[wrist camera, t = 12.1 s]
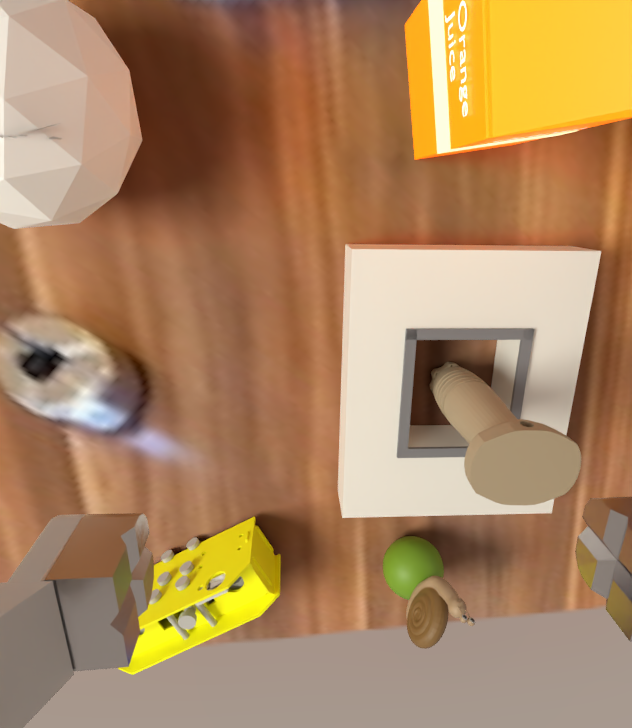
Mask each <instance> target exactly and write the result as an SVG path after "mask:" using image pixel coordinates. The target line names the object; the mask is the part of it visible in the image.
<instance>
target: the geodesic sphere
mask: <svg viewBox="0 0 632 728" xmlns="http://www.w3.org/2000/svg"><path fill="white" fill-rule="evenodd" d="M141 142H142V135H141V130H140V125H139V119H138V114H137V109H136V103H135V98H134V93H133V87H132V82H131V77H130V71H129V69H128V68H127V66H126V64H125V63H124V61H123V60H122V58H121V57H120V55H119V54H118V52H117V51H116V49H115V48H114V46H113V45H112V43H111V42H110V40H109V39H108V37H107V36H106V34H105V33H104V31H103V30H102V28H101V27H100V25H99V24H98V22H97V21H96V19H95V18H94V17H93V16H91V15H90V14H88V13H86V12H85V11H83V10H82V9H80V8H79V7H77V6H76V5H74V4H73V3H71V2H70V1H68V0H0V223H1V224H4V225H6V226H8V227H11V228H13V229H18V228H30V227H41V226H52V225H64V224H75V223H80V222H82V221H83V220H84V219H86V218H87V217H88V216H89V215H91V214H92V213H93V212H95V211H96V210H97V209H98V208H100V207H101V206H102V205H104V204H105V203H106V202H107V201H109V200H110V199H111V198H113V197H114V196H115V195H117V194H118V192H119V190H120V187H121V185H122V183H123V181H124V179H125V177H126V175H127V172H128V170H129V168H130V166H131V164H132V162H133V160H134V157H135V155H136V153H137V151H138V149H139V147H140V145H141Z"/></svg>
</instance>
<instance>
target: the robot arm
mask: <svg viewBox="0 0 632 728" xmlns="http://www.w3.org/2000/svg"><path fill="white" fill-rule="evenodd" d="M582 517H583V519H584V520H585V522H586V524H587V525H588V527H587V528H586V529H585V530H584V531H583V532H582V533H581V534H580V535H579V536H578V539H577V545H576V551H575V552H576V558H577V564H578V568H579V570H580V573H581V575H582V577H583V579H584V580H585V582H586V583H587V585H588V586H589V587H590V589H591V590H593V591H594V592H596V593H598V594H599V595H601V596H603V597H604V598H606V599H607V600H606V610H607V612H608V613H609V614H610V616H611V617H612V618H613V620H614V621H615V622H616V624H617V625H618V626H619V628H620V629H621V630H622V632H623V633H624V634H625V636H626V637H627V638H628V640H629V641H632V497H611V498H590V500H589V501H588V502H587V504H586V505H585V508H584V512H583V516H582ZM148 535H149V527H148V522H147V517H146V516H145V515H144V514H143V513H141V514H87V515H84V514H79V515H58V516H56V517H54V518H52V519H51V520H50V522H49V523H48V524H47V526H46V527H45V529H44V530H43V532H42V533H41V535H40V536H39V537H38V539H37V540H36V542H35V543H34V545H33V546H32V548H31V549H30V550H29V552H28V553H27V555H26V556H25V558H24V559H23V561H22V562H21V563H20V565H19V566H18V568H17V569H16V571H15V572H14V573H13V575H12V576H11V578H10V579H9V581H8V582H7V583H0V728H23V727H24V726H25V725H26V724H27V723H28V722H29V721H30V720H31V719H32V718H33V716H35V715H36V714H37V713H38V711H39V710H40V709H41V708H42V707H43V706H44V705H45V704H46V703H47V702H48V701H49V700H50V699H51V698H52V697H53V696H54V695H55V693H57V692H58V691H59V690H60V689H61V688H62V686H63V685H64V684H65V683H66V682H67V681H68V680H69V679H70V678H71V677H72V676H73V675H74V672H73V671H83V670H95V669H107V668H120V667H129V664H130V661H131V658H132V655H133V652H134V649H135V646H136V643H137V640H138V637H139V634H140V626H139V620H138V617H139V616H140V615H141V614H142V613H144V612H145V611H146V610H147V609H148V605H149V602H150V599H151V595H152V588H153V581H154V562H153V555H152V552H150V551H149V550H148V549H147V548H146V547H145V544H146V541H147V538H148Z"/></svg>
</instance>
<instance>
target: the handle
mask: <svg viewBox="0 0 632 728" xmlns="http://www.w3.org/2000/svg"><path fill="white" fill-rule="evenodd" d="M431 375H432V380H431V383H430V384H429V386H430V389H431V392H432V393H433V394H434V397H435V400H436V402H437V404H438V406H439V408H440V410H441V411H442V413H443V414H444V416H445V417H446V418H447V420H448V421H449V422H450V423H451V425H452V426H453V427H454V428H455V429H456V430H457V431H458V432H459V433H460V434H461V435H462V436H463V438H464V439H465V440H466V441H467V442H468V443H469V446H468V448H467V451H466V455H465V461H464V468H465V474H466V477H467V479H468V481H469V483H470V485H471V486H472V488H473V490H474V491H475V493H477V494H479V495H481V496H483V497H485V498H487V499H489V500H491V501H493V502H496V503H499V504H503V505H536V504H539V503H543V502H546V501H549V500H551V499H554V498H557V497H559V496H562V495H564V494H566V493H567V492H568V491H569V490H570V489H571V487H572V486H573V485H574V483H575V481H576V479H577V477H578V474H579V471H580V466H581V453H580V449H579V447H578V445H577V444H576V443H575V442H574V441H573V440H572V439H570V438H569V437H568V436H566V435H564V434H563V433H561V432H559V431H557V430H555V429H553V428H551V427H549V426H547V425H544V424H542V423H538V422H534V421H530V420H523V419H517V418H516V417H515V416H514V414H513V413H512V412H511V411H510V410H509V409H508V408H507V406H506V405H505V404H504V403H503V402H502V400H501V399H500V398H499V397H498V396H497V394H496V393H495V392H494V391H493V390H492V389H491V388H490V387H489V386H488V385H487V384H486V383H485V382H484V381H483V380H482V379H480V378H479V377H478V376H476V375H475V374H473V373H472V372H470V371H469V370H466V369H464V368H462V367H459V366H458V365H457V364H456V363H454V362H446V363H445V364H444V365H443V366H442V367H440V368H437V369H433V370H432V372H431Z"/></svg>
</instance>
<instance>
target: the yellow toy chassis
mask: <svg viewBox="0 0 632 728" xmlns="http://www.w3.org/2000/svg"><path fill="white" fill-rule="evenodd" d="M255 520H256V518H255V516H254V517H252V518H250V519H248V520H246V521H244V522H242V523H240V524H238V525H236V526H234V527H232V528H230V529H228V530H226V531H223V532H221V533H219V534H217V535H215V536H213V537H211V538H209V539H207V540H205V541H203V542H201V543H200V541H199V540H198V538H197V537H195V538H192V539H191V540H190V541H189V542H188V543H187V545H186V546H187V548H188V549H186V550H184V551H182V552H180V553H178V554H176V555H174V553H173V551H172V550H168V551H166V552H165V553H164V554H163V555H162V556H161V560H162V561H161V562H159V563H157V564H155V565H154V581H153V588H152V595H151V599H150V602H149V605H148V609H147V610H146V611H145V612H144V613H142V614H141V615H140V616H139V617H138V620H139V626H140V634H139V637H138V640H137V643H136V646H135V649H134V652H133V655H132V658H131V661H130V664H129V667H120V668H118V669H119V670H122V671H124V672H127V673H129V674H132V675H133V674H135V673H137V672H140V671H142V670H144V669H146V668H149V667H151V666H153V665H155V664H157V663H159V662H162V661H164V660H166V659H168V658H170V657H172V656H175V655H177V654H179V653H181V652H183V651H185V650H188V649H190V648H192V647H194V646H196V645H199V644H201V643H203V642H205V641H207V640H209V639H212V638H214V637H216V636H218V635H220V634H222V633H225V632H227V631H229V630H231V629H233V628H236V627H238V626H240V625H242V624H244V623H246V622H249V621H251V620H253V619H255V618H257V617H259V616H261V615H262V614H263V613H264V611H265V610H266V609H267V608H268V607H269V606H270V605H271V604H272V603H273V602H274V601H275V600H276V599H277V598H278V597H279V596H280V566H281V555H280V554H278V555H276V556H275V555H274V553H273V551H274V549H273V548H272V546H271V545H270V543H269V542H268V540H267V539H266V537H265V536H264V534H263V533H262V531H261V530H260V528H259V527H258V526H256V525H255Z"/></svg>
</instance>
